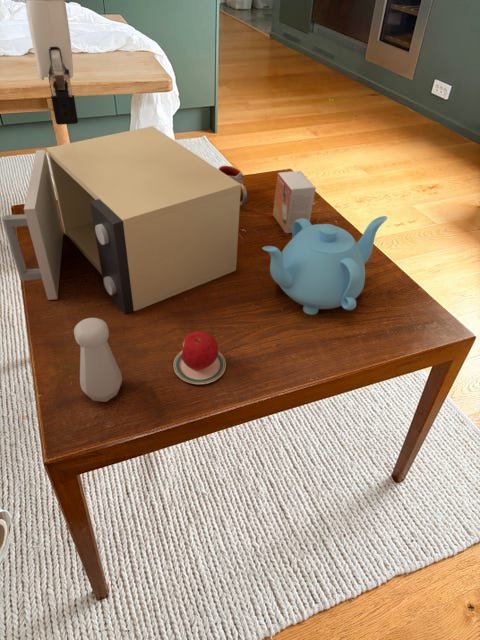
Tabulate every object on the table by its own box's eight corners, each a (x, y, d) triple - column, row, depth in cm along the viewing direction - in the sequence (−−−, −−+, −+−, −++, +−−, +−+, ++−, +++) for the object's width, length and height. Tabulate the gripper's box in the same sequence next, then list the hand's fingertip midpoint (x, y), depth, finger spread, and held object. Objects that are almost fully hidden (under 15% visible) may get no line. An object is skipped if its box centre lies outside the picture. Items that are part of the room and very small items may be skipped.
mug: (208, 192, 119) (209, 166, 114) (234, 188, 121) (236, 162, 117) (229, 216, 111) (230, 189, 106) (256, 211, 113) (258, 184, 109)
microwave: (121, 316, 84) (107, 224, 72) (53, 236, 101) (33, 150, 89) (236, 270, 96) (241, 184, 84) (157, 205, 113) (152, 125, 101)
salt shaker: (80, 381, 73) (64, 315, 64) (119, 372, 75) (108, 306, 66) (85, 411, 69) (69, 345, 60) (127, 401, 71) (116, 335, 62)
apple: (191, 394, 72) (190, 363, 68) (164, 361, 77) (161, 330, 73) (235, 372, 76) (237, 341, 72) (207, 341, 81) (207, 311, 76)
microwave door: (22, 302, 85) (-7, 210, 74) (33, 235, 101) (11, 150, 89) (57, 299, 86) (34, 208, 75) (63, 233, 102) (45, 149, 90)
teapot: (370, 278, 96) (388, 214, 87) (345, 341, 82) (363, 273, 73) (291, 256, 100) (300, 193, 91) (255, 312, 87) (261, 244, 77)
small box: (272, 215, 112) (276, 171, 105) (295, 213, 114) (301, 169, 107) (285, 234, 106) (290, 189, 99) (308, 231, 108) (316, 186, 101)
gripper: (14, -27, 73) (38, 96, 84) (13, -6, 60) (42, 134, 72) (67, -26, 75) (84, 94, 86) (76, -5, 63) (95, 131, 74)
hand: (65, 112), depth 79 cm, fingers open, 9 cm apart
